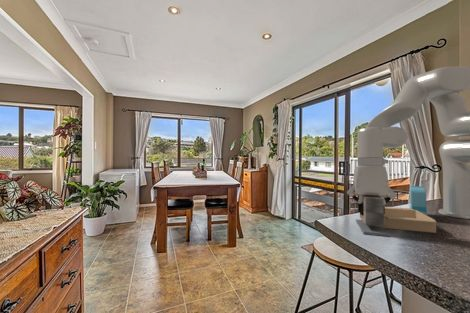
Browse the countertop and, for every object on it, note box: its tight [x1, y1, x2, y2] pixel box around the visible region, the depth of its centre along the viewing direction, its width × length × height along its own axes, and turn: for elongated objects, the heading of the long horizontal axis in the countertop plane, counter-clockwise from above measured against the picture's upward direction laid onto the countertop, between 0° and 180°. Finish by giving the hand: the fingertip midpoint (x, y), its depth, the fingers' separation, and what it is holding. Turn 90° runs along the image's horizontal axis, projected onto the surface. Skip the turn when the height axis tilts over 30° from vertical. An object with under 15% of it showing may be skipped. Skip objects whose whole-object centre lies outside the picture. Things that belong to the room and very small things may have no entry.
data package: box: [409, 185, 428, 216], centre depth 87 cm, size 12×4×12 cm, turn 141°
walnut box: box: [359, 196, 384, 228], centre depth 73 cm, size 5×10×9 cm, turn 159°
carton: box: [383, 206, 438, 234], centre depth 77 cm, size 14×18×4 cm
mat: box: [355, 218, 390, 238], centre depth 73 cm, size 7×14×1 cm, turn 159°
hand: (370, 214), depth 73 cm, fingers closed on walnut box, 5 cm apart
